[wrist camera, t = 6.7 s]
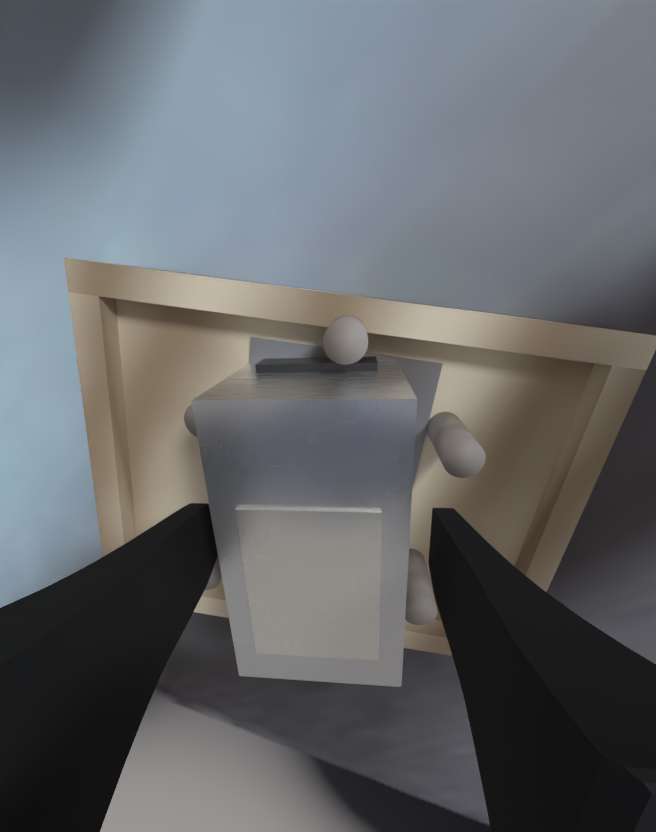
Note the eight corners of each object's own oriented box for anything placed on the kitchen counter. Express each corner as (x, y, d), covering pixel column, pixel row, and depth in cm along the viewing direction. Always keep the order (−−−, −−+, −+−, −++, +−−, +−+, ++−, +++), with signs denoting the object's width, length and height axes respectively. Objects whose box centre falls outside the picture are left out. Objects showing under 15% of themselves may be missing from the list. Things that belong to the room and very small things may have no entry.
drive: (396, 352, 11) (418, 388, 7) (389, 572, 15) (401, 690, 10) (249, 355, 12) (187, 391, 8) (272, 568, 15) (237, 679, 11)
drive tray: (613, 329, 12) (719, 345, 8) (495, 624, 17) (531, 711, 13) (108, 263, 13) (12, 252, 9) (135, 564, 17) (79, 632, 14)
